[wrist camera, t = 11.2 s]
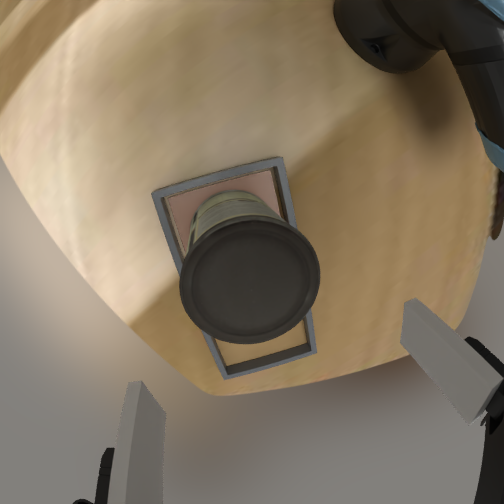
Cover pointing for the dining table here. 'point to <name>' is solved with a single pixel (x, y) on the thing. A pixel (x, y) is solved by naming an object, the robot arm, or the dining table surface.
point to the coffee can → (246, 270)
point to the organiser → (183, 215)
